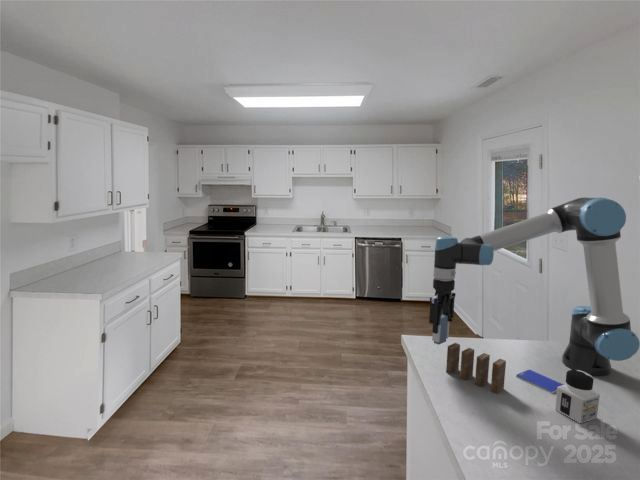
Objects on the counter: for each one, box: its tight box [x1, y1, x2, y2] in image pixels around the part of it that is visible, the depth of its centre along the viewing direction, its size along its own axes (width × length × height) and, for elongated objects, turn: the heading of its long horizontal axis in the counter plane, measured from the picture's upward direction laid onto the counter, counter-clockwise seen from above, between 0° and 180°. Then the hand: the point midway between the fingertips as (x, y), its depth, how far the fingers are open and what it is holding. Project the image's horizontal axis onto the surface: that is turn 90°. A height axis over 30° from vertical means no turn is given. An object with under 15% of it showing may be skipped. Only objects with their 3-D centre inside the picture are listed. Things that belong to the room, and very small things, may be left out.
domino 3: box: [474, 352, 491, 388], centre depth 127 cm, size 2×5×10 cm, turn 130°
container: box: [554, 369, 601, 424], centre depth 109 cm, size 8×8×13 cm
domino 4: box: [490, 358, 507, 395], centre depth 122 cm, size 2×5×10 cm, turn 130°
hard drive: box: [515, 369, 565, 394], centre depth 129 cm, size 2×8×12 cm
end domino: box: [433, 314, 448, 346], centre depth 138 cm, size 2×5×10 cm, turn 129°
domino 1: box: [445, 342, 461, 375], centre depth 135 cm, size 2×5×10 cm, turn 130°
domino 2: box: [459, 347, 475, 381], centre depth 131 cm, size 2×5×10 cm, turn 130°
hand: (440, 339), depth 139 cm, fingers closed on end domino, 5 cm apart
